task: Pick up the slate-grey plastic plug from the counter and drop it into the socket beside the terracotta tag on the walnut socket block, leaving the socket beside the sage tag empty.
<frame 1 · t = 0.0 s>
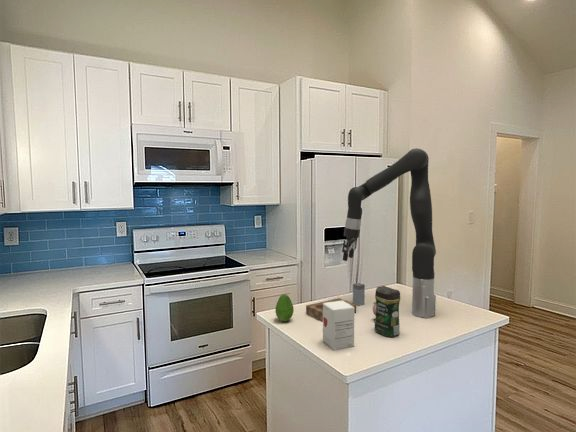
hand: (347, 259, 187), 22 cm above the countertop, tool pointing down, fingers open, 8 cm apart
decorative fruit: (383, 321, 164), on the countertop
socket block: (331, 313, 174), on the countertop
avocado: (284, 321, 165), on the countertop
supplement box: (338, 344, 141), on the countertop
plug: (358, 304, 187), on the countertop
coffee jar: (386, 333, 151), on the countertop
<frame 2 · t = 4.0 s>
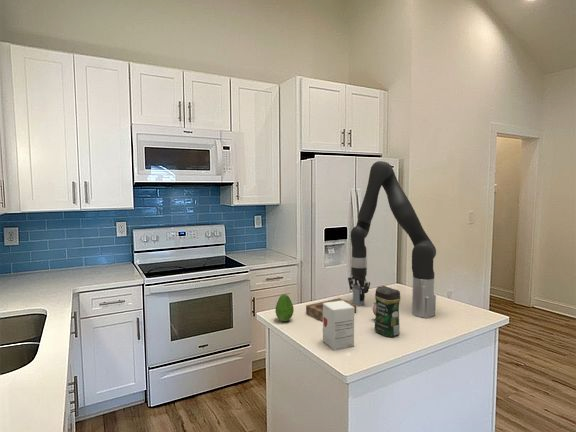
hand: (358, 299, 187), 2 cm above the countertop, tool pointing down, fingers closed on plug, 4 cm apart
plug: (358, 304, 187), on the countertop, touching gripper
everything else where it was.
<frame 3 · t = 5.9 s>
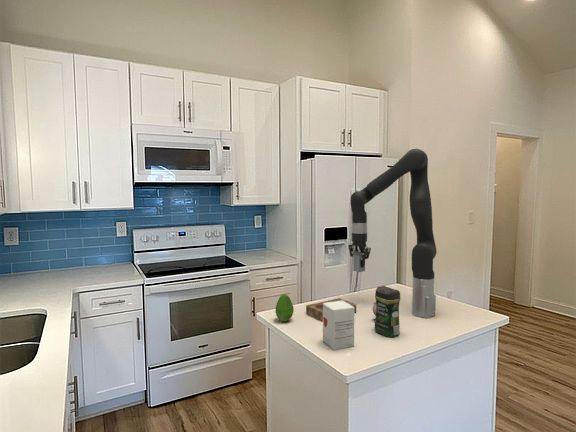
hand: (359, 266, 185), 19 cm above the countertop, tool pointing down, fingers closed on plug, 4 cm apart
plug: (359, 270, 186), point 17 cm above the countertop, touching gripper
everything else where it was.
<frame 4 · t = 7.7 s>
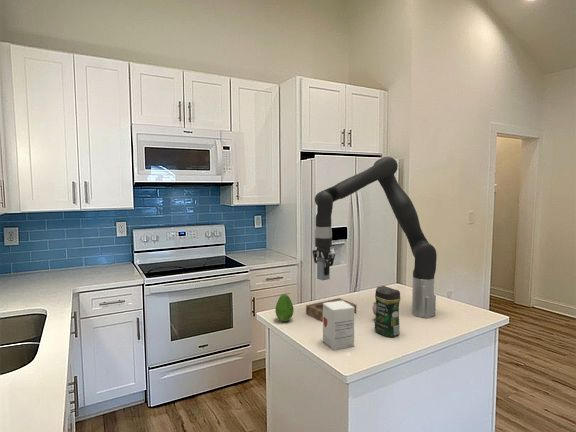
hand: (323, 273, 170), 19 cm above the countertop, tool pointing down, fingers closed on plug, 4 cm apart
plug: (323, 278, 170), point 17 cm above the countertop, touching gripper
everything else where it was.
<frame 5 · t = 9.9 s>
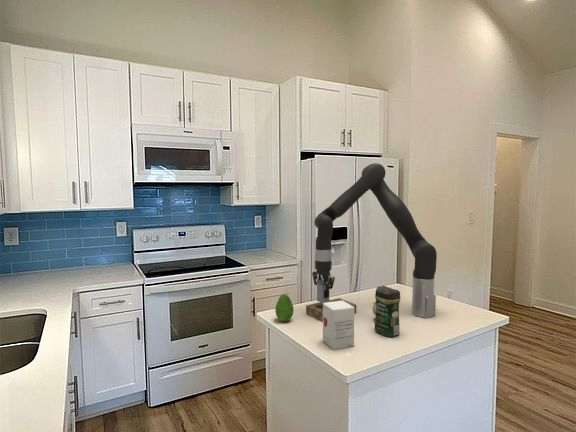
hand: (323, 296, 170), 9 cm above the countertop, tool pointing down, fingers closed on plug, 4 cm apart
plug: (323, 301, 171), point 7 cm above the countertop, touching gripper
everything else where it was.
when the fingers open (5 cm above the countertop, at t = 11.7 s): plug drops 3 cm, resting in socket block.
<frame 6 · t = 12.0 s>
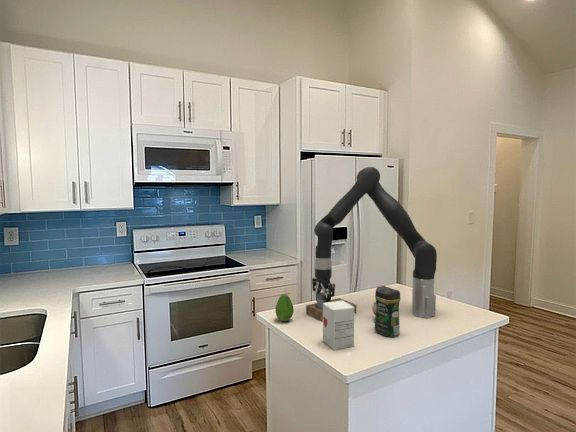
hand: (323, 303, 171), 6 cm above the countertop, tool pointing down, fingers open, 6 cm apart
plug: (322, 315, 171), resting in socket block
everything else where it was.
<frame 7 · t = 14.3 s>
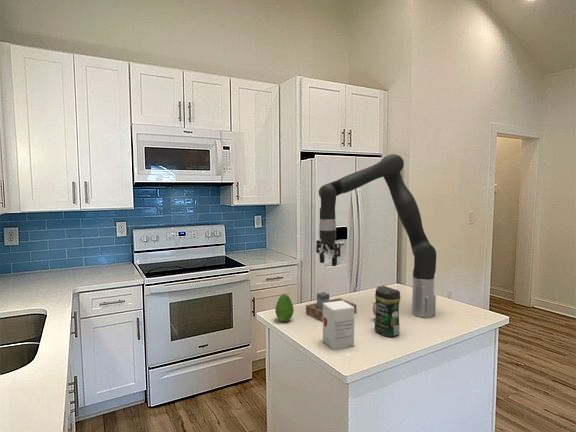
hand: (328, 264, 171), 23 cm above the countertop, tool pointing down, fingers open, 8 cm apart
nothing on the countertop moved.
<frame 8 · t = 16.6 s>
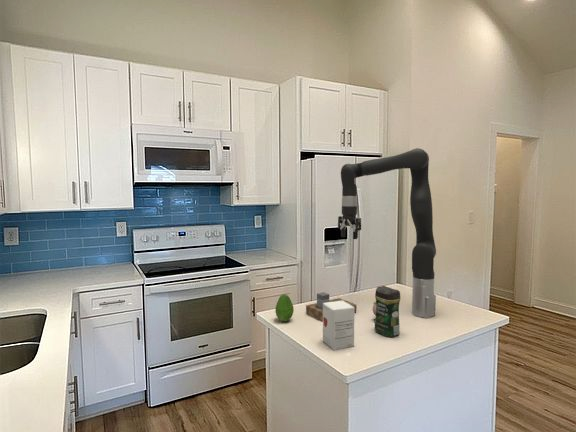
hand: (349, 238, 185), 33 cm above the countertop, tool pointing down, fingers open, 8 cm apart
nothing on the countertop moved.
at the end: plug 0.1 cm from the target spot on the socket block, point 0.0 cm above the socket block's base; plug tilted 0°; the gripper is holding nothing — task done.
